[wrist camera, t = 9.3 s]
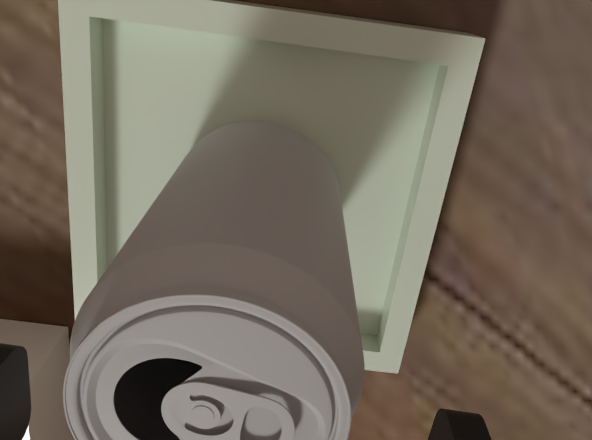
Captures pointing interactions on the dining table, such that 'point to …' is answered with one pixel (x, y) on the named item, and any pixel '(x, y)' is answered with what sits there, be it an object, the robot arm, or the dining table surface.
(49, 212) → the dining table surface
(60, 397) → the holder
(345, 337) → the beverage can
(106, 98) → the tray
